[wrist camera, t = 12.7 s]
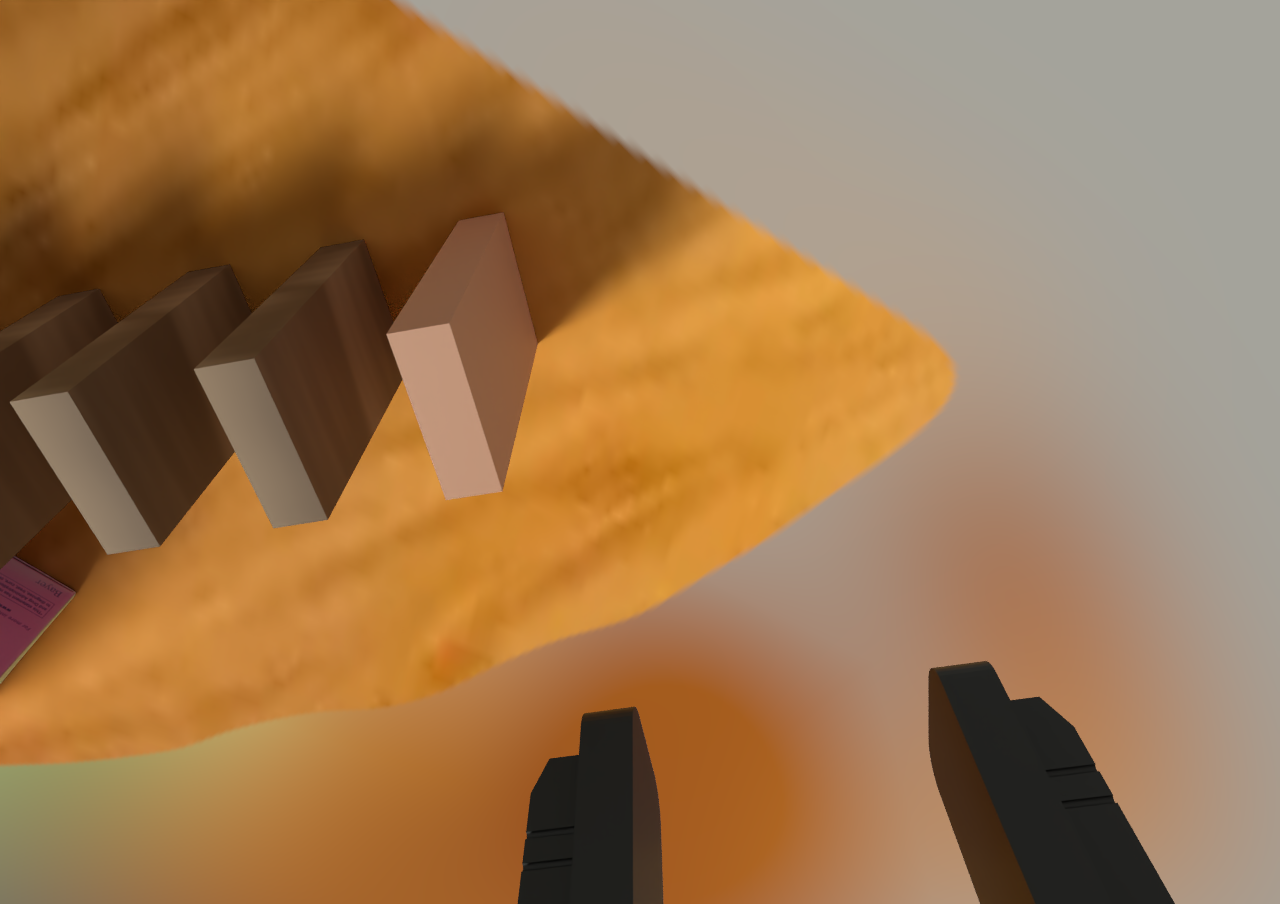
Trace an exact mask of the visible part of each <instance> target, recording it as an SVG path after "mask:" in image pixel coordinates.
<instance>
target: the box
mask: <svg viewBox="0 0 1280 904" xmlns="http://www.w3.org/2000/svg"><path fill="white" fill-rule="evenodd" d="M75 595H76V592H75V591H74V590H72V589H70V588H69V587H67V586H65V585H64V584H62V583H60V582H58V581H57V580H55V579H53V578H52V577H50V576H48V575H47V574H45V573H44V572H42V571H40V570H38V569H37V568H35V567H33V566H31V565H30V564H28V563H26V562H24V561H23V560H21V559H19V558H17V557H16V556H14V557H13V558H12V559H11V560H10V561H9V562H8V563H7V564H6V565H5V566H4V567H3V568H1V569H0V684H1V683H2V681H3V680H4V679H5V678H6V677H7V675H8V674H9V673H10V672H11V670H12V669H13V668H14V667H15V666H16V664H17V663H18V662H19V661H20V660H21V658H22V657H23V656H24V655H25V654H26V652H27V651H28V650H29V649H30V648H31V646H32V645H33V644H34V643H35V642H36V641H37V639H38V638H39V637H40V636H41V635H42V634H43V632H44V631H45V630H46V629H47V628H48V627H49V625H50V624H51V623H52V622H53V621H54V620H55V618H56V617H57V616H58V615H59V614H60V613H61V612H62V610H63V609H64V608H65V607H66V606H67V605H68V603H69V602H70V601H71V600H72V599H73V598H74V596H75Z"/></svg>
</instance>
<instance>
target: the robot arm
mask: <svg viewBox="0 0 1280 904" xmlns="http://www.w3.org/2000/svg"><path fill="white" fill-rule="evenodd" d="M929 751H930V758H931V763H932V768H933V772H934V776H935V780H936V783H937V787H938V790H939V792H940V795H941V798H942V801H943V803H944V806H945V809H946V812H947V814H948V817H949V820H950V822H951V825H952V828H953V831H954V834H955V836H956V839H957V842H958V844H959V847H960V850H961V853H962V855H963V858H964V861H965V864H966V866H967V869H968V872H969V874H970V877H971V880H972V883H973V885H974V888H975V891H976V894H977V896H978V898H979V902H980V904H1175V903H1174V901H1173V900H1172V898H1171V896H1170V894H1169V893H1168V891H1167V889H1166V887H1165V886H1164V884H1163V882H1162V880H1161V879H1160V877H1159V875H1158V873H1157V871H1156V870H1155V868H1154V866H1153V864H1152V863H1151V861H1150V859H1149V858H1148V856H1147V854H1146V852H1145V851H1144V849H1143V847H1142V845H1141V843H1140V842H1139V840H1138V838H1137V836H1136V835H1135V833H1134V831H1133V829H1132V828H1131V826H1130V824H1129V823H1128V821H1127V819H1126V817H1125V815H1124V814H1123V812H1122V810H1121V808H1120V807H1119V805H1118V803H1115V802H1114V799H1113V794H1112V793H1111V791H1110V789H1109V787H1108V786H1107V784H1106V782H1105V780H1104V779H1103V777H1102V775H1101V773H1100V772H1099V771H1097V770H1096V767H1095V763H1094V761H1093V759H1092V758H1091V756H1090V754H1089V752H1088V751H1087V749H1086V747H1085V745H1084V743H1083V742H1082V740H1081V738H1080V737H1079V735H1078V733H1077V731H1076V730H1075V728H1074V726H1073V725H1071V724H1070V723H1069V722H1068V721H1067V720H1066V719H1064V718H1063V717H1062V716H1061V715H1060V714H1059V713H1057V712H1056V711H1055V710H1054V709H1053V708H1052V707H1050V706H1049V705H1048V704H1047V703H1046V702H1045V701H1044V700H1042V699H1041V698H1040V697H1034V698H1026V699H1018V700H1010V699H1009V697H1008V695H1007V693H1006V691H1005V689H1004V687H1003V685H1002V683H1001V681H1000V679H999V677H998V675H997V674H996V672H995V670H994V668H993V667H992V665H991V664H990V663H989V662H987V661H983V662H975V663H969V664H960V665H953V666H945V667H937V668H931V669H930V671H929ZM526 833H527V839H526V840H525V847H524V855H523V871H522V872H521V880H520V889H519V897H518V904H663V881H662V850H661V821H660V808H659V799H658V792H657V786H656V780H655V775H654V771H653V768H652V764H651V760H650V756H649V752H648V748H647V744H646V740H645V737H644V733H643V729H642V725H641V721H640V717H639V714H638V711H637V709H636V707H629V708H621V709H614V710H607V711H599V712H592V713H585V714H584V715H583V717H582V721H581V732H580V749H579V755H575V756H567V757H559V758H551V759H549V761H548V763H547V764H546V766H545V768H544V770H543V772H542V774H541V776H540V777H539V779H538V781H537V783H536V785H535V787H534V789H533V790H532V792H531V796H530V804H529V813H528V821H527V831H526Z"/></svg>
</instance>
